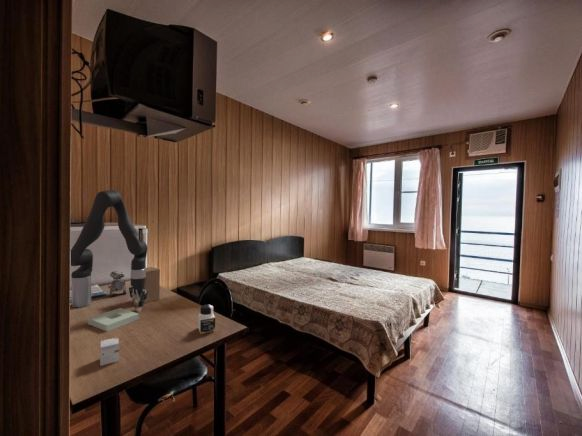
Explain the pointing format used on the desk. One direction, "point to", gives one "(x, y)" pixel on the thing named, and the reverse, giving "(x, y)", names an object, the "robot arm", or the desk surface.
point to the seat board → (113, 319)
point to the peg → (136, 303)
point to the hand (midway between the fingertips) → (138, 306)
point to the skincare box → (109, 351)
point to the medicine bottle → (206, 319)
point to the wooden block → (152, 284)
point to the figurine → (117, 283)
